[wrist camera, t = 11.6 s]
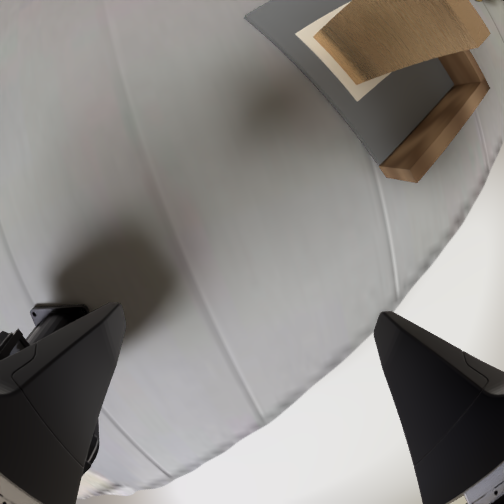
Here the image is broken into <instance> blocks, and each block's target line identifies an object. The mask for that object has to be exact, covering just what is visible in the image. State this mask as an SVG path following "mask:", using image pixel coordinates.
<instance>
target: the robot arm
mask: <svg viewBox="0 0 504 504" xmlns="http://www.w3.org/2000/svg"><path fill="white" fill-rule="evenodd" d="M81 309H82V310H84V312H82V311H81ZM30 313H31V316H32V319H33V321H34V324H35V326H36V327H35V328H34V329H33V331H32V332H31V333H30V334H29V336H28V337H27V338H26V339H25V338H24V337H23V336H22V335H23V334H22V333H21V331H20V330H19V329H17V330H16V331H15V332H14V333H12V332H11V333H6V332H4V331H2V332H1V333H0V504H76V499H77V495H78V490H79V486H80V481H81V477H82V476H83V474H84V473H85V472H86V471H87V470H88V469H89V468H90V467H91V464H92V463H93V461H94V460H95V458H96V456H97V453H98V450H99V425H98V417H99V414H100V410H101V407H102V404H103V401H104V398H105V396H106V393H107V390H108V387H109V384H110V381H111V379H112V376H113V373H114V370H115V367H116V365H117V361H118V357H119V353H120V349H121V345H122V341H123V338H124V334H125V330H126V321H125V316H124V311H123V307H122V305H121V304H120V303H114V302H110V303H108V304H106V305H104V306H102V307H100V308H98V309H96V310H94V311H93V312H91V313H90V312H89V309H88V308H87V307H86V306H85V305H67V306H51V307H34V308H33V309H32V310H31V311H30ZM35 313H36V314H35ZM374 338H375V342H376V345H377V349H378V353H379V357H380V360H381V365H382V368H383V371H384V374H385V377H386V380H387V383H388V385H389V388H390V391H391V394H392V396H393V400H394V402H395V406H396V409H397V412H398V415H399V417H400V420H401V424H402V427H403V430H404V433H405V437H406V440H407V444H408V447H409V450H410V454H411V457H412V461H413V465H414V469H415V473H416V477H417V481H418V485H419V489H420V493H421V497H422V502H423V504H449V503H451V502H453V501H455V500H457V499H458V498H460V497H462V496H465V499H466V501H467V503H466V504H504V372H503V371H501V370H499V369H497V368H495V367H493V366H490V365H489V364H487V363H485V362H483V361H480V360H479V359H477V358H475V357H473V356H471V355H469V354H468V353H466V352H464V351H463V352H462V350H461V349H459V348H457V347H455V346H453V345H451V344H450V343H448V342H446V341H445V340H443V339H441V338H439V337H437V336H436V335H434V334H432V333H430V332H428V331H427V330H425V329H423V328H421V327H419V326H417V325H416V324H414V323H412V322H410V321H408V320H407V319H405V318H403V317H401V316H399V315H397V314H396V313H394V312H392V311H384V312H381V313H380V315H379V317H378V320H377V323H376V326H375V329H374Z"/></svg>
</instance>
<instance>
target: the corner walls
mask: <svg viewBox="0 0 504 504" xmlns="http://www.w3.org/2000/svg"><path fill="white" fill-rule="evenodd" d="M438 59H439V60H440V62H441V64H442V65H443V67H444V68H445V70H446V71H447V73H448V75H449V76H450V78H451V80H452V81H453V83H454V85H453V87H452V88H451V89H450V90H449V91H448V92H447V93H446V94H445V96H444V97H443V98H442V99H441V100H440V101H439V102H438V103H437V104H436V106H435V107H434V108H433V109H432V110H431V111H430V112H429V113H428V114H427V115H426V117H425V118H424V119H423V120H422V121H421V122H420V123H419V124H418V125H417V126H416V127H415V128H414V130H413V131H412V132H411V133H410V134H409V135H408V136H407V137H406V138H405V139H404V140H403V141H402V142H401V143H400V145H399V146H398V147H397V148H396V149H395V150H394V151H393V152H392V153H391V154H390V155H389V156H388V157H387V158H386V159H385V160H384V161H383V162H382V163H381V164H380V166H379V167H380V169H381V170H382V172H383V173H384V175H385V176H386V178H392V179H398V180H404V181H409V182H414V183H418V181H419V180H420V179H421V178H422V177H423V176H424V174H425V173H426V172H427V171H428V170H429V168H430V167H431V166H432V165H433V164H434V162H435V161H436V160H437V159H438V157H439V156H440V155H441V154H442V152H443V151H444V150H445V149H446V147H447V146H448V145H449V144H450V142H451V141H452V140H453V138H454V137H455V136H456V135H457V133H458V132H459V131H460V129H461V128H462V127H463V125H464V124H465V123H466V121H467V120H468V119H469V117H470V116H471V115H472V113H473V112H474V110H475V109H476V108H477V106H478V105H479V103H480V102H481V100H482V99H483V98H484V96H485V95H486V93H487V92H488V90H489V89H490V87H489V85H488V83H487V81H486V79H485V77H484V75H483V73H482V72H481V70H480V68H479V66H478V64H477V62H476V61H475V59H474V57H473V55H472V54H471V52H470V50H464V51H460V52H456V53H452V54H448V55H444V56H441V57H438Z"/></svg>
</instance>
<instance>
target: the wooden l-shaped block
mask: <svg viewBox="0 0 504 504" xmlns="http://www.w3.org/2000/svg"><path fill="white" fill-rule="evenodd" d="M490 34H491V33H490V32H489V30H488V28H487V27H486V25H485V24H484V22H483V20H482V19H481V17H480V16H479V14H478V13H477V11H476V10H475V9H474V7H473V6H472V4H471V3H470V1H469V0H352V1H351V2H350V3H349V4H348V5H346V6H345V7H344V8H343V9H342V10H341V11H340V12H339V13H337V14H336V15H335V16H334V17H333V18H332V19H331V20H330V21H329V22H328V23H327V24H326V25H325V26H324V27H323V28H321V29H320V30H319V31H318V32H317V33H316V34H315V35H314V36H313V38H314V39H315V40H316V41H317V42H318V43H319V44H320V45H321V46H322V47H323V48H324V49H325V50H326V51H327V52H328V53H329V54H330V55H331V56H332V57H333V59H334V60H335V61H336V62H337V63H338V64H339V65H340V66H341V67H342V69H343V70H344V71H345V72H346V73H347V74H348V76H349V77H350V78H351V79H352V80H353V82H354V83H355V84H356V85H358V84H361V83H363V82H366V81H368V80H371V79H374V78H376V77H379V76H382V75H384V74H387V73H390V72H393V71H396V70H399V69H402V68H405V67H408V66H411V65H414V64H417V63H420V62H423V61H427V60H430V59H434V58H437V57H441V56H444V55H448V54H452V53H456V52H460V51H464V50H469V49H473V48H478V47H479V46H480V45H481V44H482V43H483V42H484V40H485V39H486V38H487V37H488V36H489V35H490Z"/></svg>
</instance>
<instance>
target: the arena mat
mask: <svg viewBox="0 0 504 504" xmlns="http://www.w3.org/2000/svg"><path fill="white" fill-rule="evenodd" d="M351 1H352V0H270V1H269V2H267V3H265V4H263V5H262V6H260V7H258V8H257V9H255V10H253V11H252V12H250V13H248V14H247V15H245V17H244V18H245V19H246V20H247V21H248V22H250V23H251V24H252V25H253V26H254V27H255V28H257V29H258V30H259V31H260V32H261V33H262V34H264V35H265V36H266V37H267V38H268V39H269V40H270V41H271V42H272V43H273V44H275V45H276V46H277V47H278V48H279V49H280V50H281V51H282V52H283V53H284V54H285V55H286V56H287V57H288V58H289V59H290V60H291V61H292V62H293V63H294V64H295V65H296V66H297V67H298V68H299V69H300V70H301V71H302V72H303V73H304V74H305V75H306V76H307V77H308V78H309V79H310V80H311V82H312V83H313V84H314V85H315V86H316V87H317V88H318V89H319V90H320V91H321V93H322V94H323V95H324V96H325V97H326V98H327V99H328V101H329V102H330V103H331V104H332V105H333V107H334V108H335V109H336V110H337V111H338V113H339V114H340V115H341V116H342V117H343V119H344V120H345V121H346V122H347V124H348V125H349V126H350V128H351V129H352V130H353V131H354V133H355V134H356V135H357V137H358V138H359V139H360V141H361V142H362V143H363V145H364V146H365V147H366V149H367V150H368V152H369V153H370V154H371V156H372V157H373V159H374V160H375V162H376V163H377V164H379V165H380V164H381V163H382V162H383V161H384V160H385V159H386V158H387V157H388V156H389V155H390V154H391V153H392V152H393V151H394V150H395V149H396V148H397V146H398V145H399V144H400V143H401V142H402V141H403V140H404V139H405V138H406V137H407V136H408V135H409V134H410V133H411V132H412V130H413V129H414V128H415V127H416V126H417V125H418V124H419V123H420V122H421V121H422V120H423V119H424V117H425V116H426V115H427V114H428V113H429V112H430V111H431V110H432V109H433V108H434V107H435V105H436V104H437V103H438V102H439V101H440V100H441V99H442V98H443V97H444V95H445V94H446V93H447V92H448V91H449V90H450V89H451V88H452V86H453V85H454V83H453V81H452V80H451V78H450V76H449V75H448V73H447V71H446V70H445V68H444V67H443V65H442V64H441V62H440V60H439V59H438V57H437V58H434V59H430V60H427V61H423V62H420V63H417V64H414V65H411V66H408V67H405V68H402V69H399V70H396V71H393V72H390V73H387V74H384V75H382V76H379V77H376V78H374V79H371V80H368V81H366V82H363V83H361V84H358V85H356V84H355V83H354V82H353V80H352V79H351V78H350V77H349V76H348V74H347V73H346V72H345V71H344V70H343V69H342V67H341V66H340V65H339V64H338V63H337V62H336V61H335V60H334V59H333V57H332V56H331V55H330V54H329V53H328V52H327V51H326V50H325V49H324V48H323V47H322V46H321V45H320V44H319V43H318V42H317V41H316V40H315V39H314V38H313V36H314V35H315V34H316V33H317V32H318V31H319V30H320V29H321V28H323V27H324V26H325V25H326V24H327V23H328V22H329V21H330V20H331V19H332V18H333V17H334V16H335V15H336V14H337V13H339V12H340V11H341V10H342V9H343V8H344V7H345V6H346V5H348V4H349V3H350V2H351Z"/></svg>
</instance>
